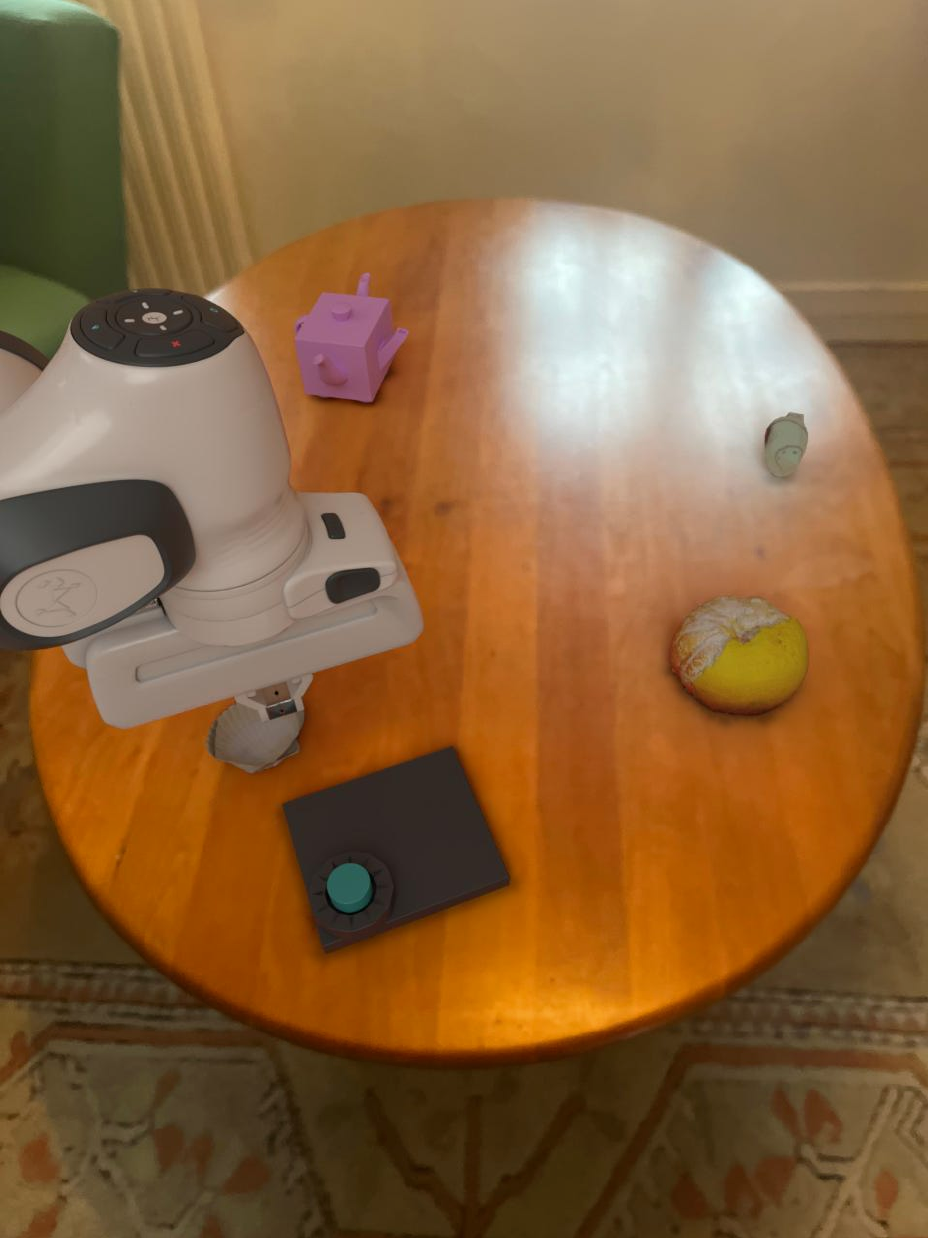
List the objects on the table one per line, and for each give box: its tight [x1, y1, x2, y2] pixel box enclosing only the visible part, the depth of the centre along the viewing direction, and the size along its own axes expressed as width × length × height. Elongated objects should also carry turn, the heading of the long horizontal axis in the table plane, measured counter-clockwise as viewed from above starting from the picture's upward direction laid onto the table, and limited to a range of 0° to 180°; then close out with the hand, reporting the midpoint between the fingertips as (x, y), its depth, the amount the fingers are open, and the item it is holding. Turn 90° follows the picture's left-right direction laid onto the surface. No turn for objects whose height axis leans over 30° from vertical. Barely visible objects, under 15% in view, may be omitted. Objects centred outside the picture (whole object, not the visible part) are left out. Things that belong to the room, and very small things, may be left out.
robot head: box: [763, 411, 809, 478], centre depth 94 cm, size 8×4×7 cm, turn 164°
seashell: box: [205, 701, 306, 774], centre depth 77 cm, size 8×3×8 cm
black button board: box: [281, 745, 511, 955], centre depth 71 cm, size 14×12×3 cm
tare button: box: [327, 863, 373, 913], centre depth 66 cm, size 3×3×2 cm
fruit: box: [669, 594, 810, 717], centre depth 79 cm, size 11×10×8 cm
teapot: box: [293, 272, 410, 403], centre depth 106 cm, size 18×13×10 cm
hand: (281, 708), depth 64 cm, fingers closed
